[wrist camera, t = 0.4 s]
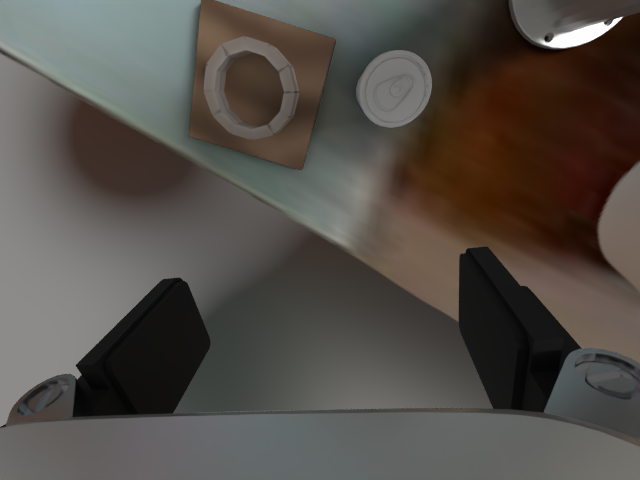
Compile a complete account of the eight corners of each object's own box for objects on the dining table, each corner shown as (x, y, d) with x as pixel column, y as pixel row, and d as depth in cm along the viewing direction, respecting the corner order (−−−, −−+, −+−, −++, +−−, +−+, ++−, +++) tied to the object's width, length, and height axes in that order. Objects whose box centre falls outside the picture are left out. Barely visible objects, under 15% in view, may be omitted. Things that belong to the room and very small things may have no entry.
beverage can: (348, 106, 39) (347, 114, 25) (366, 56, 36) (376, 35, 23) (390, 123, 39) (411, 140, 26) (411, 75, 37) (447, 65, 23)
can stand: (207, -1, 35) (188, -12, 31) (335, 41, 36) (333, 34, 32) (194, 134, 42) (177, 139, 38) (303, 167, 42) (297, 175, 38)
